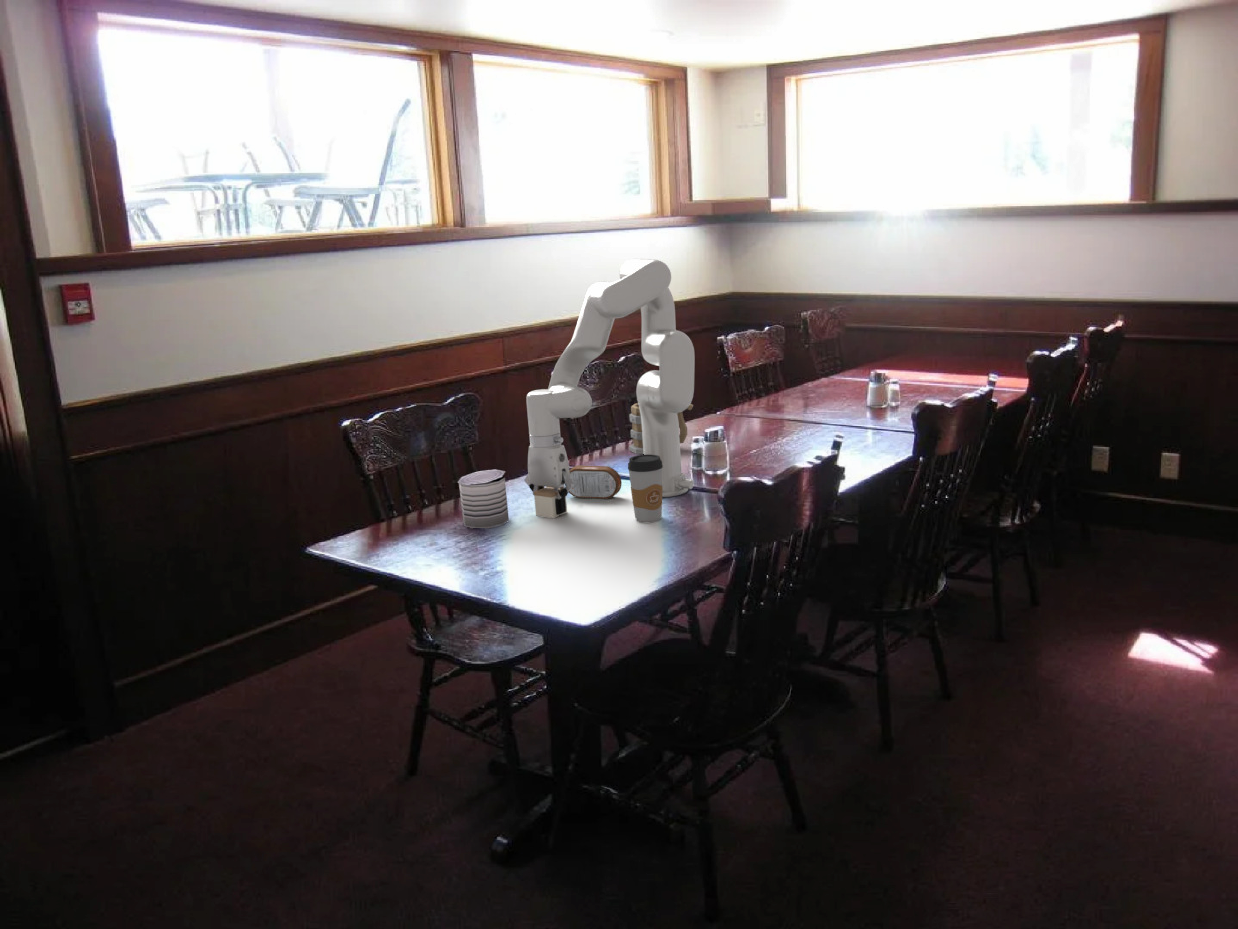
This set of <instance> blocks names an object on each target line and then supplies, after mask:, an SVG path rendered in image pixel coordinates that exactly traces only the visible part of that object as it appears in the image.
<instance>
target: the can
mask: <svg viewBox="0 0 1238 929" xmlns="http://www.w3.org/2000/svg"><path fill="white" fill-rule="evenodd" d="M505 473H506V471H505V470H500V469H495V468H494V469H488V470H487V469H485V470H480V471H476V472H472V473H469V474H466V475H463V476H461V477H460V478H459V479H458V481H457V483H458V487H459V488H458V489H459V496H460V504H461V515H462V523H464V524H463V525H464V527H465V526H466V527H465V528H467V527H470V528H469V529H473V528H485V529H492V528H496V527H500V525H501V526H503V524H504V523H505V522H506V523H508V522H509V521H510V518H509V508H508V499H507V498H508V496H507V488H506V478H505V476H504V475H505ZM507 521H508V522H507ZM506 523H505V524H506ZM505 524H504V525H505Z"/></svg>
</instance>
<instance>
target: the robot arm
mask: <svg viewBox="0 0 1238 929" xmlns="http://www.w3.org/2000/svg"><path fill="white" fill-rule="evenodd" d="M671 282H672V272H671V269H670V268H669V266H668V265H667V264H666V263H665V262H663V261H661V260H658V259H653V258H651V259H650V258H631V259H628V260H626V261H624V262H623V264H622V265H621V266H620V269H619V279H618V280H616V281H597V282H595V283H593V284H591V285H590V286H589V288H588V289H587V291H586V293H585V296H584V300H583V303H582V306H581V309H580V312H579V315H578V319H577V322H576V326H575V328H574V331H573V334H572V337H571V340H570V342H569V343H568V345H567V346H566V347H565V349H564V350H563V353H561V355H560V356H559V358H558V360H557V362H556V363H555V366H554V369H553V372H552V375H551V377H550V381H549V383H548V384H549V385H548V388H546V389H545V388H543V389H542V388H541V389H535V390H531V391H529V392H528V393H527V394H526V411H527V412H526V413H527V414H526V415H527V422H528V434H529V443H530V444H529V446H528V453H527V472H528V473H527V475H526V476H525V478H524V482H525V484H526V485H527V486H528V487H529V489H530V490H531V491H532V495H533V496H534V492H535V491H538V490H540V489H543V488H545V487H553V488H554V491H555V494H556V497H557V499H555V504H556V514H557V515H559V514H562V513H564V512H566V503H567V501H566V502H565V497H566V498H567V497H568V494H570V493H569V492H570V490H571V489H572V488H573V487H574V483H573V482H572V480H571V479H570V465H569V460H568V456H567V451H566V448H565V445H564V444H562V443H563V442H564V437H561V426H560V419H568V418H570V419H577V418H581V417H583V416H586V415H587V414H588V413H589V412H590V410H591V408H592V405H593V400H592V397H591V395H590V393H589V392H588V391H587V390H586V389H584V388H582V387H579V386H578V384H579V381H580V380H581V379H580V378H581V376H582V374H583V372H584V370H585V369H586V367H587V366H588V365H589V364H590V363H591V362H592V361H595V359H597V358H598V357H600V356H601V355H602V354H603V353H604V351H605V350H606V347H607V344H608V341H609V337H610V335H611V331H612V328H613V325H614V322H615V319H621V318H625V317H627V316H629V315H630V314H633V313H634V312H636V311H638V310H640V313H641V314H640V315H641V347H640V348H641V354H642V358H643V360H645V361H646V362H647V363H649V364H651V365H652V366H653V365H654V366H658V367H659V370H657V369H656V370H655V369H653V370H649V371H646V372H645V373H644V374H642V375H641V376H640V377H639V379H638V381H637V384H636V392H635V393H636V400H637V403H638V404H639V409H640V414H641V422H642V437H643V453H644V455H646V454H651V455H658V456H660V459H661V461H662V465H663V467H662V498H670V497H675V496H681V495H683V494H685V493H687V492H688V491H689V490H692V489H693V487H694V484H695V481H694V479H687V478H686V473H684V472H682V458H681V443H680V438H679V435H680V428H679V422H678V416H677V413H679V412H682V413H683V412H684V411H686V410H688V409H687V408H688V406H689V405H690V404H692V401H693V398H694V393H695V363H696V362H695V357H696V356H695V347H694V345H693V342H692V339H690V337H689V336H688V335H687V334H686V333H685V332H683V331H680V330H677V329H676V328H677V327H676V322H677V321H676V307H675V306H676V305H675V302H674V297H673V294H672V291H671V290H670V288H669V287H670V284H671ZM565 484H566V486H565ZM559 488H560V490H561V492H560V490H559ZM564 514H565V513H564ZM562 515H563V514H562Z"/></svg>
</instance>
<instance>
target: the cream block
mask: <svg viewBox="0 0 1238 929" xmlns="http://www.w3.org/2000/svg"><path fill="white" fill-rule="evenodd" d="M559 490H560V488H559ZM560 492H561V490H560ZM533 496H534V508H535V516H537V517H541V516H543V517H542V518H550V519H555V518H557V517H560V516H561V515H564V514H567V513H568V506H567V505H568V504H567V496H566V497H565V502H566V512H564V513H562V514H559V515H560V516H559V515H557V514H556V504H555V499H557V497H556V494H555V491H554V488H553V487H544V488H543V489H540V490H538V491H535V492H534V495H533Z"/></svg>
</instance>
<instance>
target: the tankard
mask: <svg viewBox="0 0 1238 929" xmlns="http://www.w3.org/2000/svg"><path fill="white" fill-rule="evenodd" d="M693 407H694V404H692V403H690V405H689V406H688V408H687V409H686V410H689V411H691V410H692V409H693ZM630 411H631V413H629V414H628V415H629V422H630V423H631V426H632V427H631V428H632V429H630V431H629V432H630V438H632V440H633V443H632V444H630V445H629V446H628V451H629V452H631V453H633V454H635V455H643V454H644V453H643V437H642V422H641V414H640V409H639V404H638V402H637V403H634V404H633V405H631V406H630ZM677 416H678V422H679V438H680V444H683V443H685V440H686V438H687V437H688V427H687V424H686V422H685V419H684V414H683V411H682V412H679V413H677Z"/></svg>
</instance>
